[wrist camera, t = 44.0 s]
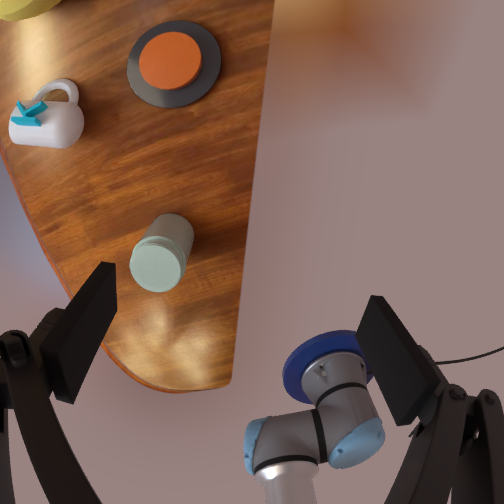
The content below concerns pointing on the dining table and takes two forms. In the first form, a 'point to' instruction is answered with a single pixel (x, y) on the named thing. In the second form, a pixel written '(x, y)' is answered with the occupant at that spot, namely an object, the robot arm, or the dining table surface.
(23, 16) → the vase
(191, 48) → the lid
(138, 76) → the mat
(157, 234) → the jar
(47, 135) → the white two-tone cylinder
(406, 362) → the robot arm
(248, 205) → the dining table surface
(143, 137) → the dining table surface
